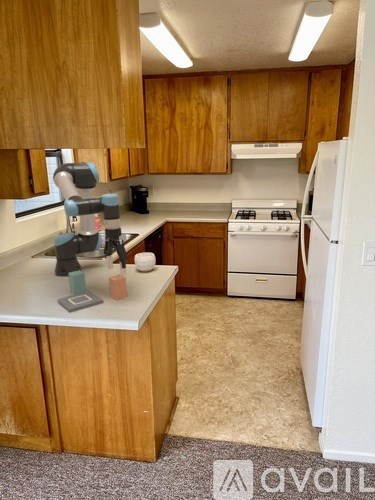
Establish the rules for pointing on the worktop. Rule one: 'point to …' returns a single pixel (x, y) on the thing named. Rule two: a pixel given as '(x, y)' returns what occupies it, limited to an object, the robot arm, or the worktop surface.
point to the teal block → (77, 282)
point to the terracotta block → (117, 287)
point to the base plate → (79, 301)
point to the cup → (145, 261)
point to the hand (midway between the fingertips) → (116, 271)
